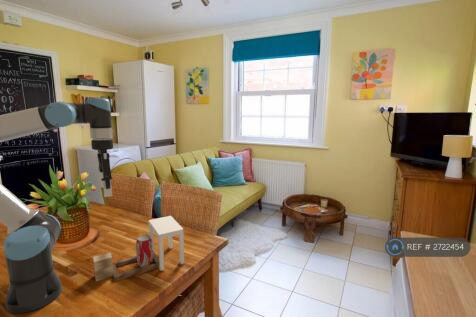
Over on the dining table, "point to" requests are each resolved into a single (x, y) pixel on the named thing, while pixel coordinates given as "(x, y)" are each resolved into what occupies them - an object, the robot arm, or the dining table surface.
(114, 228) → the dining table surface
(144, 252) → the beverage can
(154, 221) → the white stool
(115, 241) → the dining table surface
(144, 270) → the pull frame
